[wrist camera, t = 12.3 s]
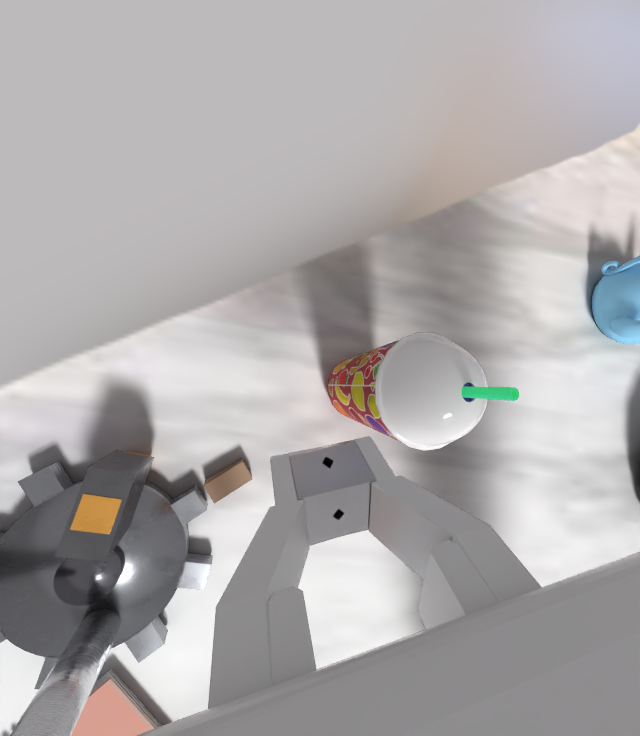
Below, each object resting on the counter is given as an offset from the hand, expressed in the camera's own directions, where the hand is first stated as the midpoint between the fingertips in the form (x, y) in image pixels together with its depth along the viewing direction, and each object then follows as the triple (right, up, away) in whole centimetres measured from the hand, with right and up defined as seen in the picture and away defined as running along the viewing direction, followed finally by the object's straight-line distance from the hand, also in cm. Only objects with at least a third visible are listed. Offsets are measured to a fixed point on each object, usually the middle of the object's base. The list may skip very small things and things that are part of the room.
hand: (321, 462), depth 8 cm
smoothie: (+4, +1, +25) cm, 25 cm away
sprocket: (-19, -14, +17) cm, 29 cm away
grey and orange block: (-17, -8, +16) cm, 25 cm away
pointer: (-9, -8, +20) cm, 24 cm away
